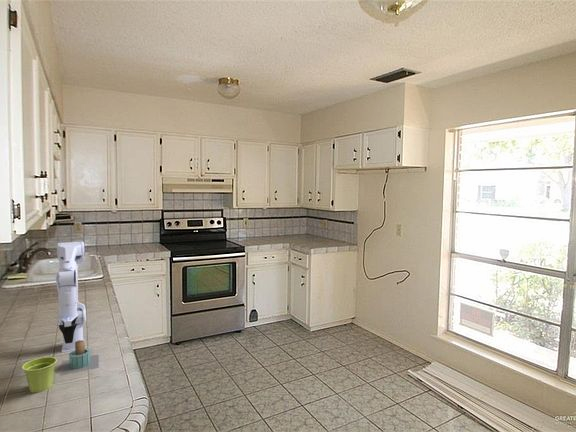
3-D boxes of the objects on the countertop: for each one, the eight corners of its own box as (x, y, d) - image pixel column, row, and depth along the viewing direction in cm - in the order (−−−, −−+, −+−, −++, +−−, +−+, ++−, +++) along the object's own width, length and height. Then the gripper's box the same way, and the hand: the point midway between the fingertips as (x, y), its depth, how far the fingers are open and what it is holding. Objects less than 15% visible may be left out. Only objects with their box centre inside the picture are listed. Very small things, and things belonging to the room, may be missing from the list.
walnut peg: (75, 361, 136) (75, 341, 135) (84, 360, 137) (84, 339, 137) (75, 365, 133) (74, 344, 132) (84, 363, 134) (84, 342, 134)
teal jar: (70, 362, 136) (69, 350, 136) (90, 358, 140) (90, 347, 139) (69, 370, 131) (68, 358, 130) (90, 366, 134) (90, 354, 133)
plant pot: (20, 388, 119) (19, 362, 119) (54, 378, 126) (53, 353, 125) (26, 400, 113) (24, 373, 112) (61, 388, 119) (60, 363, 119)
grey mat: (62, 362, 138) (62, 361, 138) (98, 355, 143) (98, 354, 143) (60, 376, 127) (60, 375, 127) (98, 368, 133) (98, 367, 133)
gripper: (56, 299, 138) (58, 334, 139) (53, 310, 126) (55, 348, 127) (77, 296, 142) (79, 330, 143) (77, 307, 129) (78, 344, 130)
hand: (69, 339), depth 135 cm, fingers open, 7 cm apart
